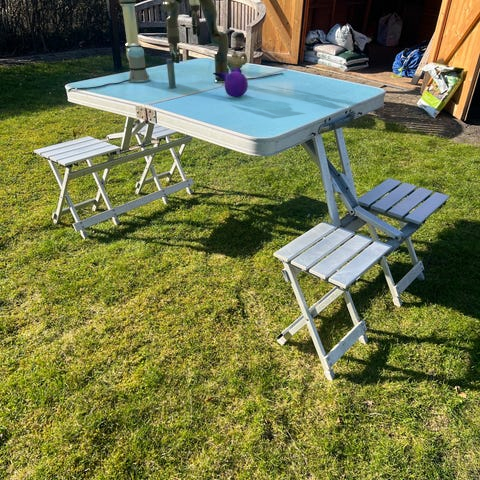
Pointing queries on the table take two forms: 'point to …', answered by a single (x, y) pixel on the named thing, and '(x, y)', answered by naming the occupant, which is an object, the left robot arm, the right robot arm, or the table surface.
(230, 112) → the table surface
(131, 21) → the left robot arm
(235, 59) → the teapot
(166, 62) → the lid
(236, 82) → the toy
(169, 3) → the right robot arm
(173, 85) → the bottle
